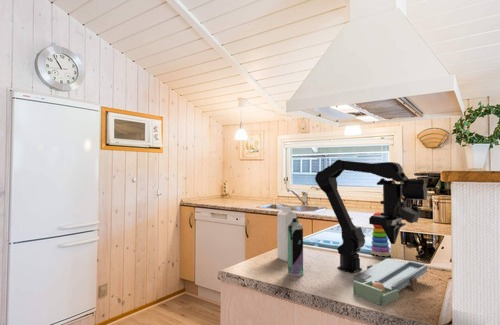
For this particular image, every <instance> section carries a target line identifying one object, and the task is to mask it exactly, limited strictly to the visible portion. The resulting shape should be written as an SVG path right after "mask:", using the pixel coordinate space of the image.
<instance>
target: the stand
mask: <svg viewBox="0 0 500 325" xmlns="http://www.w3.org/2000/svg"><path fill="white" fill-rule="evenodd" d="M372 266H374V264H369V265H367V266H366V270H367V269H369V268H370V267H372ZM417 280H418V278H415V277H414V278H411V279H410V284H409V285H407V286H406V287H404V288H403V289H407V290H410V291H412V292H413V291H416V290H417V289H418V284H417Z"/></svg>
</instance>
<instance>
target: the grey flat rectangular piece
mask: <svg viewBox="0 0 500 325" xmlns="http://www.w3.org/2000/svg"><path fill="white" fill-rule="evenodd" d="M427 272H428V265H426V264H425V263H421V262H418V261H413V260H407V261H406V262H404V261H399V260H396V259H392V258H387V257H386V258H385V259H383V260H381V261H380V262H378V263H376V264H373V266H372V267H370V268H369V269H367V268H366V269H365V270H363V271H362V272H361V271H360V272H358V273H357V274H355V275H354V276H353V281H358V282H360V283H364V282H367V281H372V285H373V284H374V283H376V282H379V283H382V284H383V285H384V288H385V291H386V292H391V291H393V290H396V289H397V290H398V292H400V291H402V290H404V289H405V288H404V287H406V286H407V285H410V279H411V278H414V277H415V278H417V279H419V278H420V277H422V276H423V275H425V274H426V273H427Z"/></svg>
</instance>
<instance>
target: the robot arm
mask: <svg viewBox="0 0 500 325" xmlns="http://www.w3.org/2000/svg"><path fill="white" fill-rule="evenodd" d="M403 170H404V169H403V167H402V165H401V164H400V163H398V162H395V161H394V162H393V161H388V162H387V161H385V162H384V161H383V162H374V163H373V162H361V161H355V160H352V161H351V160H345V159H337V160H335V161H334V162H333V163H332V164H329V166H327V167H325V168H324V169H322V170H320V171H318V172H317V173H316V174H315V177H314V180H315V183H316V184H317V186H318V187H319V189H320V190H322V191H323V193H324V194H325V195H326V198H327V199H328V201H329V204H330V206H331V208H332V211H333V212H334V215H335V218H336V219H337V221H338V225H339V226H340V229H341V239H342V243H341V244H340V246H338V247H337V249H336V250H337V253H338V254H339V266H337V269H338V270H341V271H344V272H347V273H356V272H359V271H362V269H363V268H362V267H361V258H360V254H359V253H358V252H360V251H361V248H364V246H365V244H366V235H365V234H364V233H363V230H362V227H361V226H358V227H356V225H354V223H353V221H352V219H351V217H350V214H349V212H348V210H347V208H346V205H345V203H344V201H343V199H342V197H341V194H340V192H339V190H338V180H337V178H339V177H340V176H341V175H342V173H343V172H344V171H350V172H351V171H352V172H359V173H365V174H366V173H367V174H372V175H375V176H378V177H380V180H379V181H377V182H376V185H377V186H382V196H383V197H382V198H383V200H380V205H383V207H382V209H383V212H381V215H374V214H373V215H374V216H373V215H371V216H370V217H369V218H368V220H369V223H368V224H369V225H372V226H373V225H379V226H382V228H383V230H384V231H385V233H386V235H387V236H386V237H387V238H388V242H389V243H390V244H391V245H395V244H396V241H397V239H398V235H399V233H400V230H401V229H402V228H403V227H404V226H406V224H407V223H409V224H413V223H418V221H419V218H421V217H422V212H421V208H420V207H418V206H412V208H411V207H407V206H406V203H405V201H402V196H403V197H405V199H406V200H417V201H419V200H420V201H426V200H427V198H428V187H427V184H426V179H425V178H420V179H409V177H408V176H407V175H406V174H405V173H404V172H403ZM387 179H388V180H387ZM403 221H406V222H407V223H403Z"/></svg>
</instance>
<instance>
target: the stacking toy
mask: <svg viewBox="0 0 500 325" xmlns="http://www.w3.org/2000/svg"><path fill="white" fill-rule="evenodd" d="M381 213H382V212H381V211H377V212H374V213H373V214H372V216H374V215H381ZM372 226H373V228H372V232H371V235H372V237H371V239H372V240H371V244H372V245H371V247H370V248H371V250H370V253H371V255H373V254H374V256H376V255H378V256H377V257H382V256H385V257H389V256H390V255H391V251H390V249H391V248H390V246H389V243H390V242H389V239H388V237H387V235H386V233H385V231H384V230H383V228H382V226H379V225H373V224H372Z"/></svg>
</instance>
